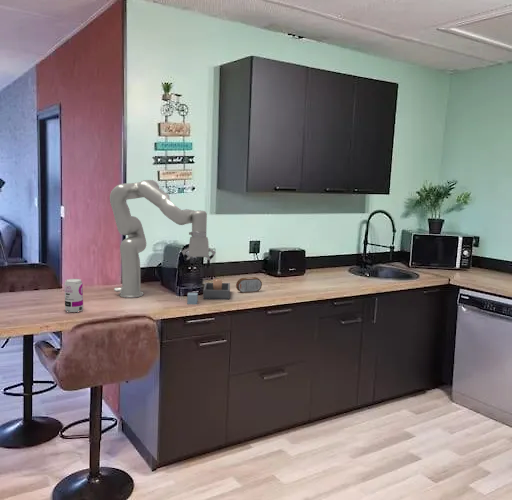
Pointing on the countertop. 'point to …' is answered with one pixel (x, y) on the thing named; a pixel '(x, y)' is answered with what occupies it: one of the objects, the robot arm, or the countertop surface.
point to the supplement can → (73, 295)
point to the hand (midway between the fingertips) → (198, 267)
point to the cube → (192, 298)
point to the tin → (249, 284)
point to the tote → (216, 292)
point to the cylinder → (217, 284)
